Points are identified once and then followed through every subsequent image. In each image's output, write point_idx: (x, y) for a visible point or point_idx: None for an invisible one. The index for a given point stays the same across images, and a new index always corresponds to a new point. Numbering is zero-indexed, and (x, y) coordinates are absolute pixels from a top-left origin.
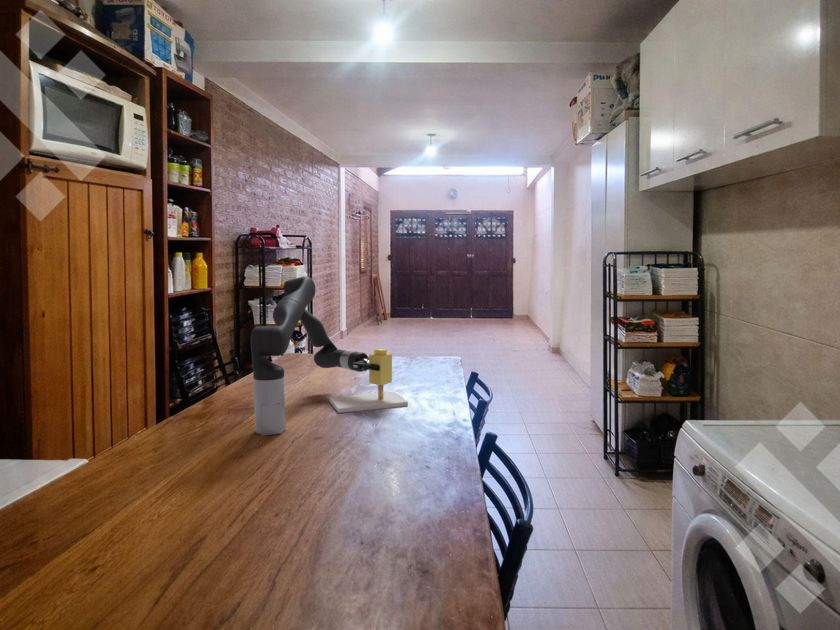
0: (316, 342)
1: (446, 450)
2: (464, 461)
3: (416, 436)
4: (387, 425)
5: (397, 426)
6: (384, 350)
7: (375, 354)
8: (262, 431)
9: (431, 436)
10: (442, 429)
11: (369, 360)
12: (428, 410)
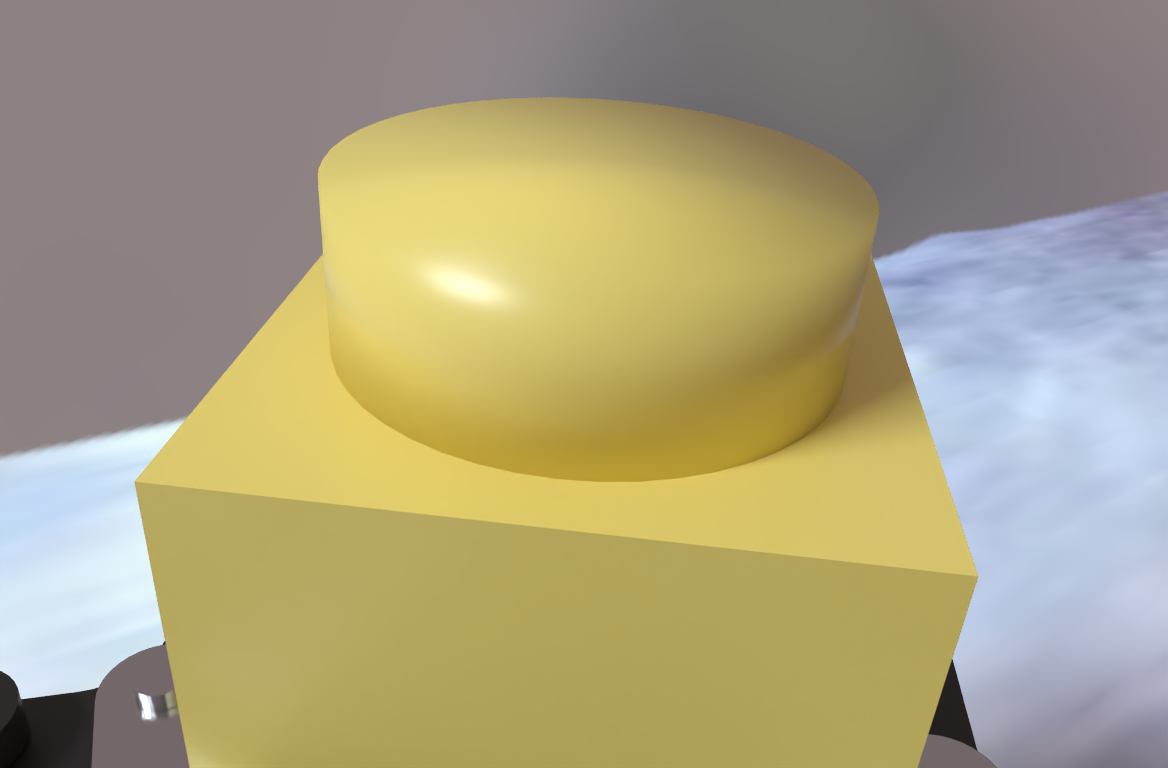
0: None
1: (1083, 274)
2: (1098, 224)
3: (1093, 394)
4: (1155, 598)
5: (1087, 536)
6: (622, 109)
7: (845, 365)
8: None
9: (1008, 351)
10: None
11: None
12: None
